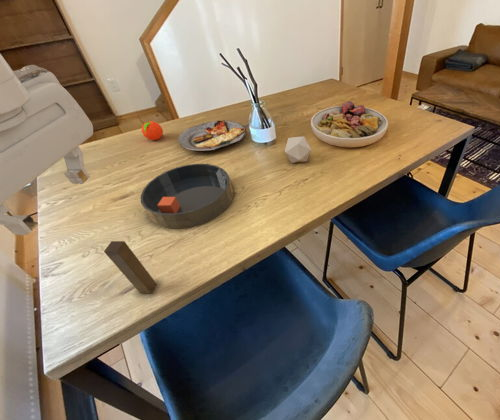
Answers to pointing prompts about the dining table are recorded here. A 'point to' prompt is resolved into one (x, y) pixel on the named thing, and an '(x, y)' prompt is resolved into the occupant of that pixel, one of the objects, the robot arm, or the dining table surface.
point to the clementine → (152, 130)
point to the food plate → (212, 135)
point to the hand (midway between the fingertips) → (57, 203)
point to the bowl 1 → (188, 195)
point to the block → (168, 205)
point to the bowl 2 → (349, 125)
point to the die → (297, 149)
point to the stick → (130, 266)
